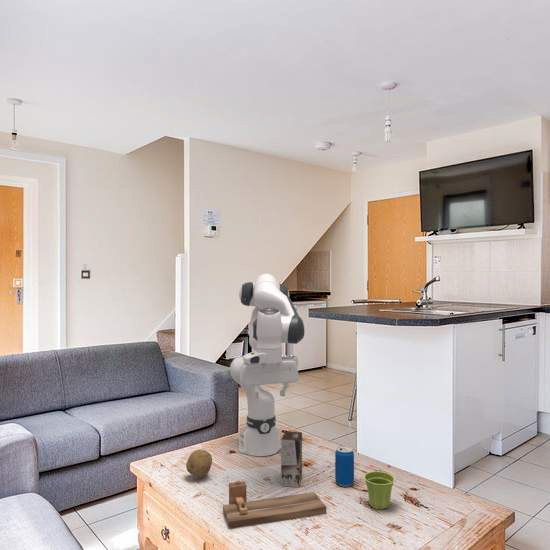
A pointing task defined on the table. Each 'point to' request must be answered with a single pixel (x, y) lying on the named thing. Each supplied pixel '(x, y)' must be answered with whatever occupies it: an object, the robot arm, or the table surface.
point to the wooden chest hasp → (238, 495)
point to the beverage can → (344, 466)
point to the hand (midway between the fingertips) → (269, 396)
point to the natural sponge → (199, 463)
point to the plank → (274, 510)
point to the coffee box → (291, 459)
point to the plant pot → (379, 488)
